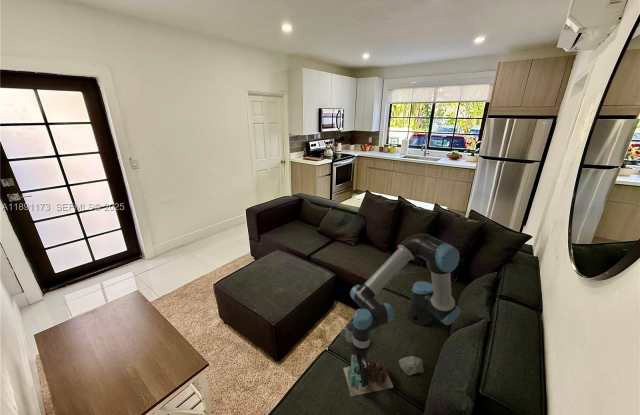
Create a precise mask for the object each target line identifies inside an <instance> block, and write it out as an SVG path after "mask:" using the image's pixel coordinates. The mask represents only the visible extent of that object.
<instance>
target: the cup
mask: <svg viewBox="0 0 640 415" xmlns="http://www.w3.org/2000/svg"><path fill="white" fill-rule="evenodd" d="M339 332H340V333H339V334H340V336H341V337H342V338H344V339H345V341H346V343H347V344H352V339H351V337H352V336H353V321H349V322H346V323H345V326H344V327H342V328H341V329H340V331H339ZM344 332H345V333H344Z"/></svg>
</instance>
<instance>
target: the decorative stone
mask: <svg viewBox="0 0 640 415" xmlns="http://www.w3.org/2000/svg"><path fill="white" fill-rule="evenodd" d="M398 363H399V364H398V365H399V367H400V369H401V370H402V372H403V373H404V374H406V375H407V376H412V375H414V374H415V375H416V374H418V373H419V374H420V373H421V374H423V373H424V372H425V370H424V366H423V365H424V362H423V359H421V358H420V357H416V356H413V355H410V356H404V357H403V358H401V359H399V360H398Z"/></svg>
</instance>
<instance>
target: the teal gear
mask: <svg viewBox="0 0 640 415" xmlns="http://www.w3.org/2000/svg"><path fill="white" fill-rule="evenodd" d="M359 362H361V361H359ZM357 366H359V364H358V361H357V363H356V364H355V363H354V362H352V363H351V362H350V366H348V367H349V373H348V379H350V380H349V383H350V385H351V386H352V385H355V388H356V389H359V384H360V382H359V380H360V379H361V377H360V375H358V374H356V367H357Z"/></svg>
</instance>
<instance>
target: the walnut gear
mask: <svg viewBox="0 0 640 415" xmlns="http://www.w3.org/2000/svg"><path fill="white" fill-rule="evenodd" d="M368 363H369V365H368V377H371V378H370V381H371V382H372V383H374V381H375V382H377V385H381V382H383V383H385V382H386V379H387V373H389V366H388V364H386V361H385V360H383V359H381V360H379V357H374V359H372V358H371V359H370V360H369V362H368ZM376 363H380V364H381V370H380V371H378V370H375V367H376Z"/></svg>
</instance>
